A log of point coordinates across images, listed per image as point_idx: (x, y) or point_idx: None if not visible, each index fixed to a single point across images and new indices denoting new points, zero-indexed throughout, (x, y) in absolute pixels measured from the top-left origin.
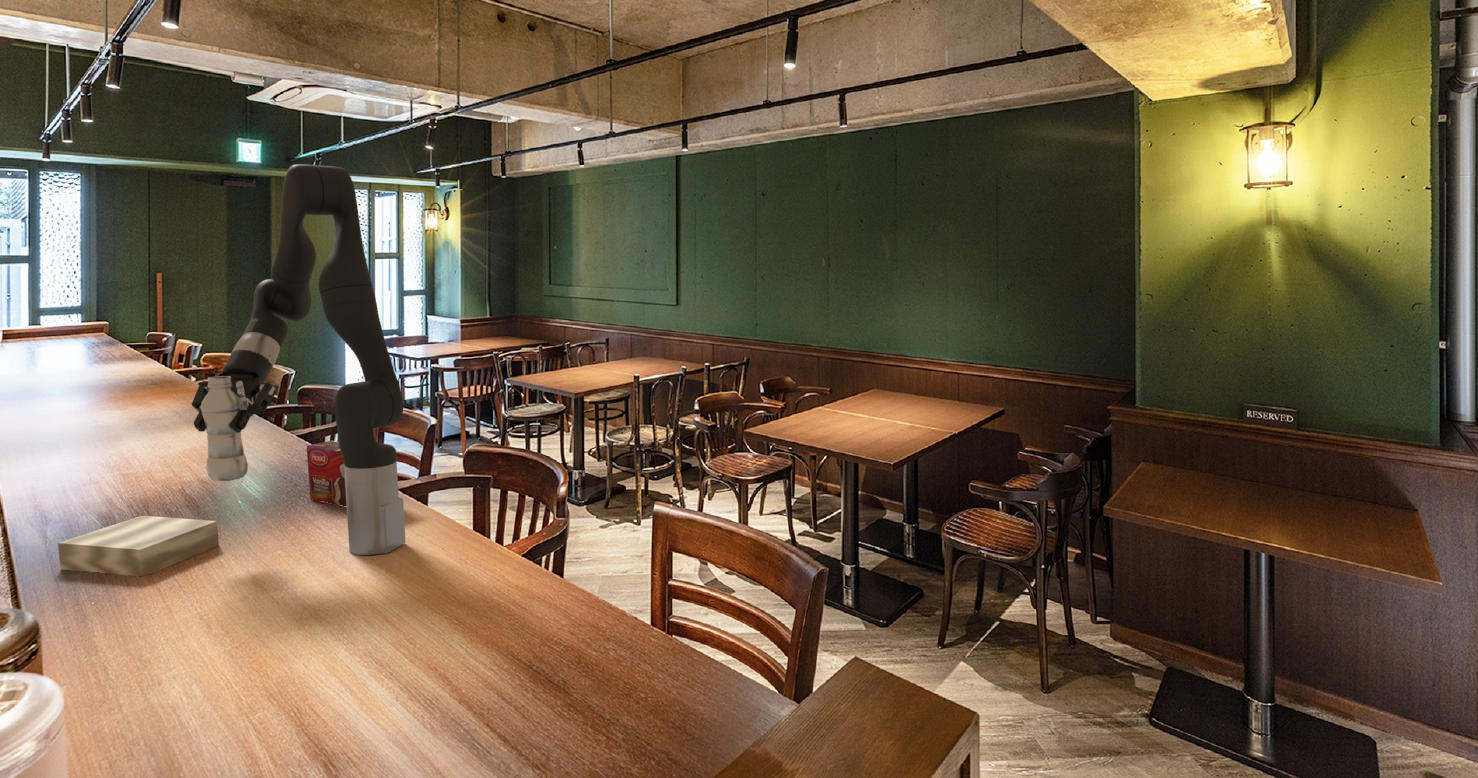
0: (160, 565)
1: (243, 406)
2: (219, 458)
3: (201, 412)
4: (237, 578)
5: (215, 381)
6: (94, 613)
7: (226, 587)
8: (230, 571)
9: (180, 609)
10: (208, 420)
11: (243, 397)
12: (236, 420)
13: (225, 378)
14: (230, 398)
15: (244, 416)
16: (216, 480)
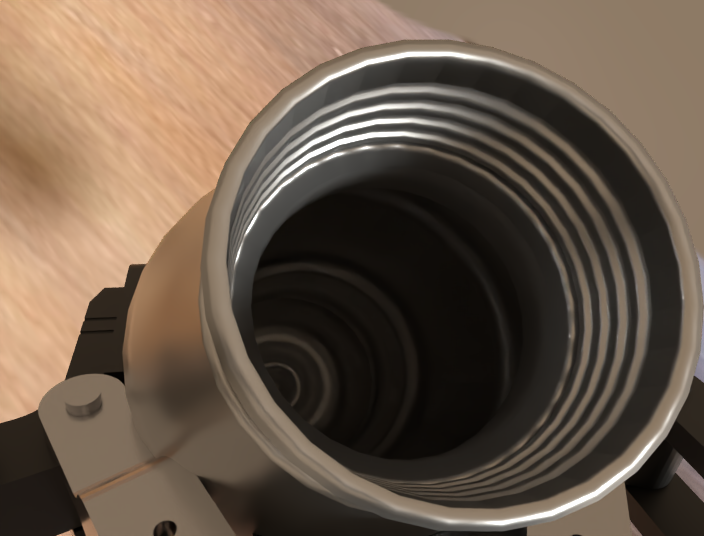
0: None
1: (87, 393)
2: (266, 297)
3: None
4: (97, 184)
5: (381, 74)
6: (290, 4)
7: (87, 128)
8: (150, 230)
9: (114, 13)
10: (350, 225)
11: (110, 485)
12: (130, 291)
13: (232, 156)
14: (172, 266)
15: (78, 353)
16: (285, 318)
